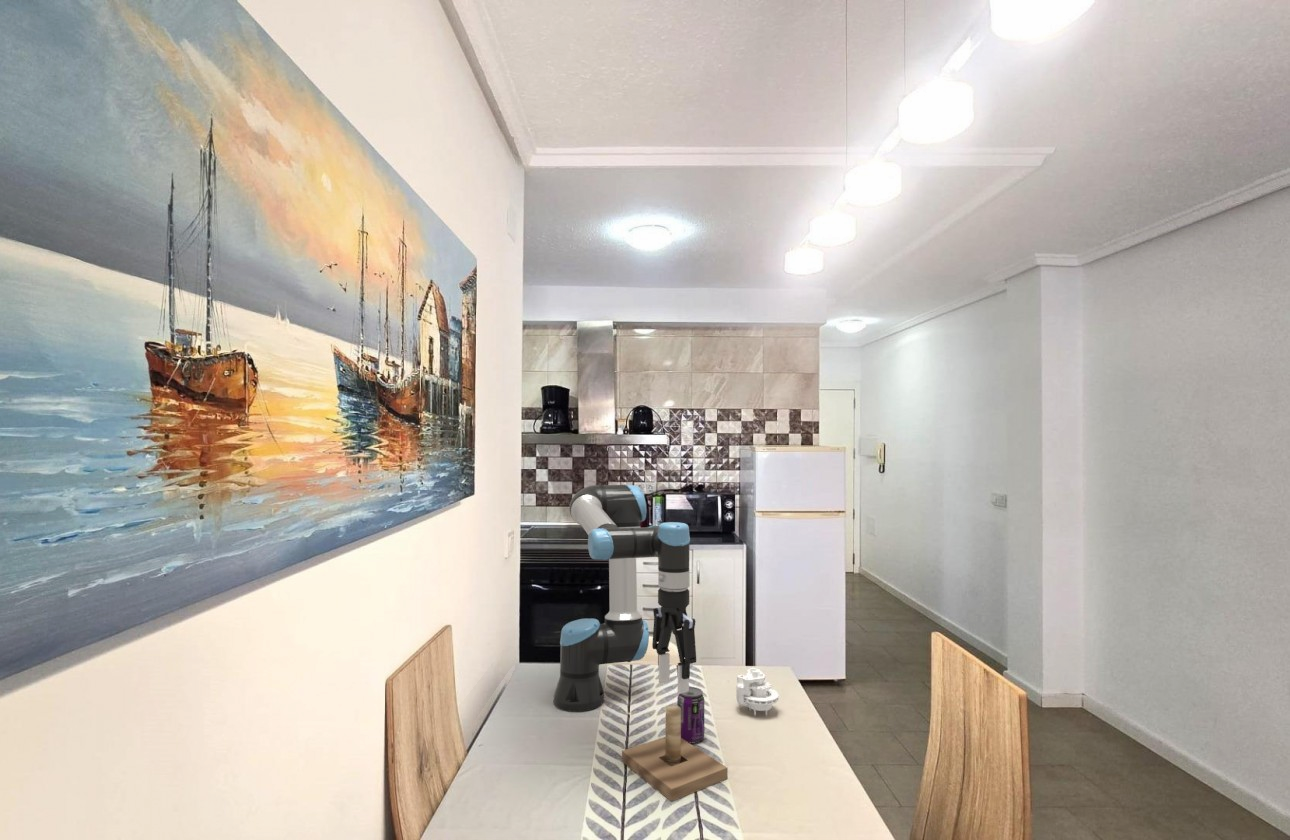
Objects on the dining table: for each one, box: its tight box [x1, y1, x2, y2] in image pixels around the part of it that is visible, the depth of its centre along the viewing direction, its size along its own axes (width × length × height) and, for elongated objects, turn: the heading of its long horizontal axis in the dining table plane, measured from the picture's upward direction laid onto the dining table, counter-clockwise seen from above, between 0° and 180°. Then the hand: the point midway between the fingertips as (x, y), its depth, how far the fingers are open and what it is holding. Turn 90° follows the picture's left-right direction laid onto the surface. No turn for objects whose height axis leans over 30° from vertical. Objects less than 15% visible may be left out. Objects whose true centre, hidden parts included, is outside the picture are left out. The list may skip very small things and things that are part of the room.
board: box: [621, 736, 729, 802], centre depth 138 cm, size 20×16×2 cm
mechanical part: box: [735, 667, 779, 717], centre depth 171 cm, size 11×12×12 cm
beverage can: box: [676, 686, 705, 744], centre depth 154 cm, size 7×7×12 cm
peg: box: [664, 704, 681, 766], centre depth 139 cm, size 4×4×14 cm
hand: (673, 686), depth 139 cm, fingers open, 7 cm apart
